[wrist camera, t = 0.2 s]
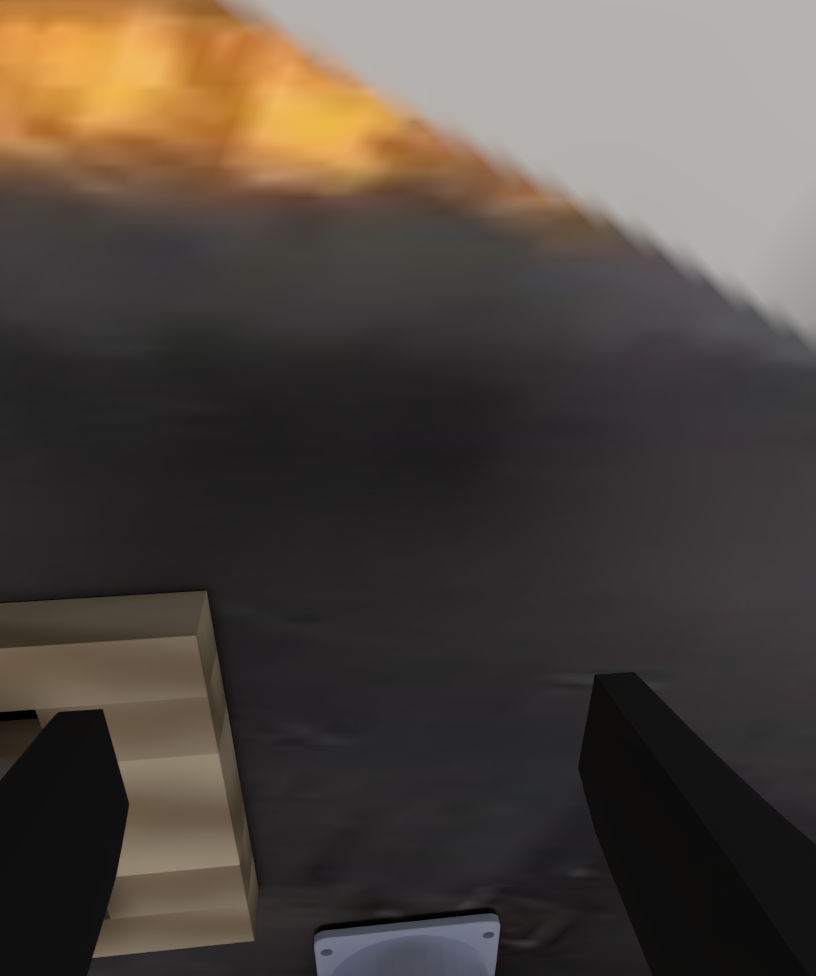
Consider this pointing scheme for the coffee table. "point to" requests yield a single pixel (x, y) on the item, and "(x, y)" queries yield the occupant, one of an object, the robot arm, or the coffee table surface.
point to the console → (145, 755)
